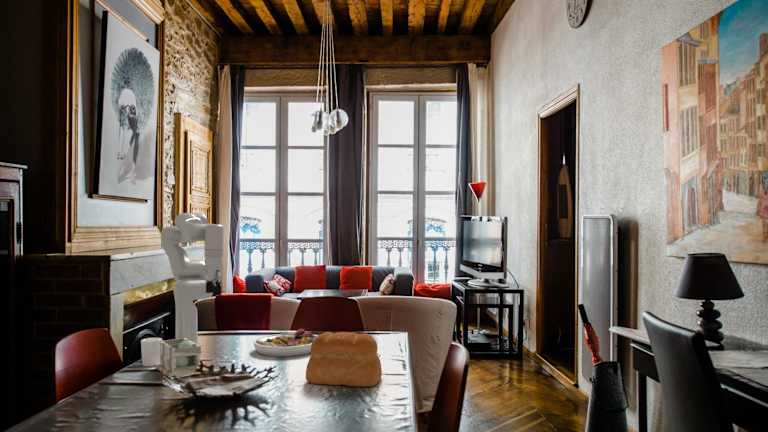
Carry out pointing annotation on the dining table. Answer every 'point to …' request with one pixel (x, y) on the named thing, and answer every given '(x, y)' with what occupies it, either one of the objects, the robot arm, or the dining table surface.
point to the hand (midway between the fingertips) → (213, 294)
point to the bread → (344, 360)
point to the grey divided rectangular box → (172, 352)
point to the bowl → (285, 344)
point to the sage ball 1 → (185, 344)
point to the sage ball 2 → (181, 362)
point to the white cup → (150, 351)
